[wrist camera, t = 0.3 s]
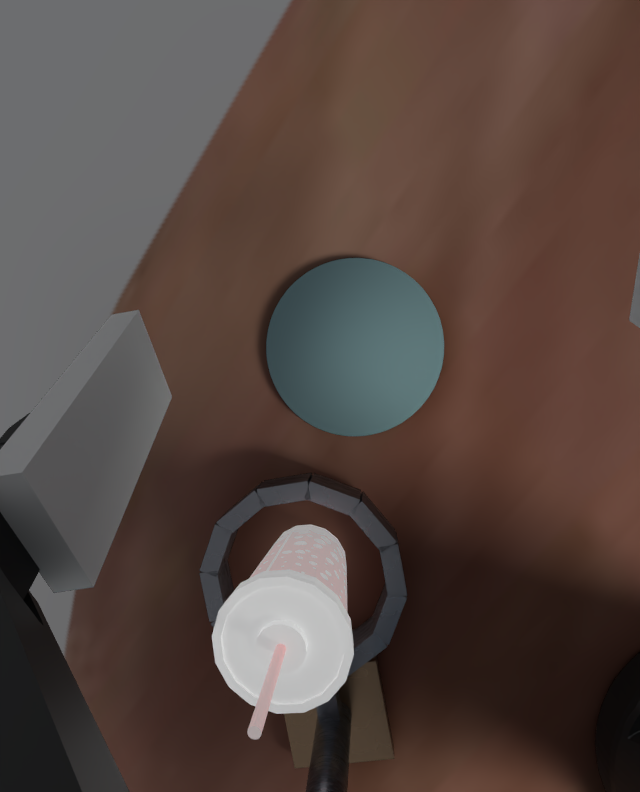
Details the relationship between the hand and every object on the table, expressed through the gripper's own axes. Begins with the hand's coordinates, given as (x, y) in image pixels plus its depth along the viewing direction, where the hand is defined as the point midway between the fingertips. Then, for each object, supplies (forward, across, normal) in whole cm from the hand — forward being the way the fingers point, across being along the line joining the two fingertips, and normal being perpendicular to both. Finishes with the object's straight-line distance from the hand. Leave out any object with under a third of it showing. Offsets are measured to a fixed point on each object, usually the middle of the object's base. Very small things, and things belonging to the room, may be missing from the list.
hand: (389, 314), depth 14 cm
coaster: (+14, +1, +8) cm, 16 cm away
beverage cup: (+8, +6, +19) cm, 21 cm away
